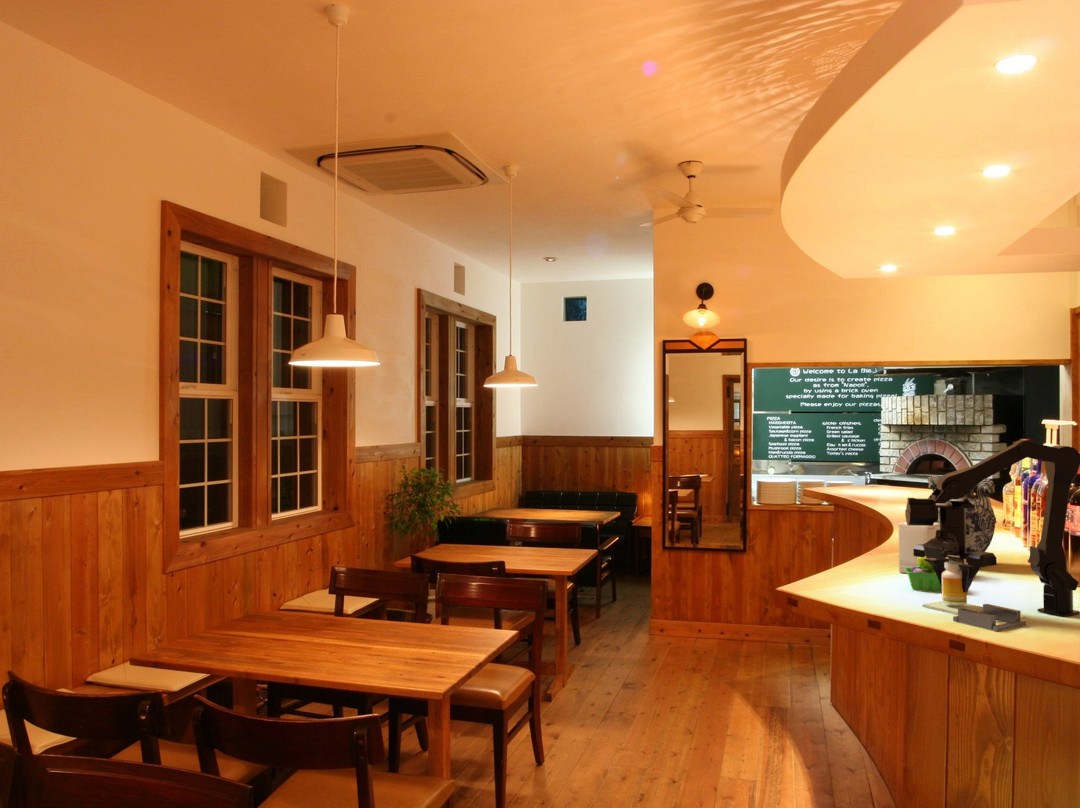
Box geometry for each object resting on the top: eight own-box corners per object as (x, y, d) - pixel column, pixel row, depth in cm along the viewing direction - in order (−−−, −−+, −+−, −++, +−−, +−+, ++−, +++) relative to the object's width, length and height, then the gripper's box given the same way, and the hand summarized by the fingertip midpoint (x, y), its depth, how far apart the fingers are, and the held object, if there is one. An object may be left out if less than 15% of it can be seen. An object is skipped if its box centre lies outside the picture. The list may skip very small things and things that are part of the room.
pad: (949, 602, 206) (948, 599, 206) (986, 610, 197) (986, 607, 197) (922, 606, 201) (922, 604, 201) (959, 615, 192) (959, 612, 192)
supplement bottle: (970, 605, 196) (969, 565, 196) (945, 605, 197) (944, 564, 197) (963, 600, 201) (962, 561, 201) (939, 600, 202) (938, 560, 202)
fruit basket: (908, 590, 220) (907, 548, 220) (905, 584, 228) (904, 543, 228) (955, 593, 216) (954, 550, 216) (950, 586, 224) (950, 545, 224)
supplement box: (928, 577, 238) (927, 525, 238) (898, 573, 244) (897, 522, 244) (942, 573, 244) (941, 522, 244) (911, 569, 250) (911, 520, 250)
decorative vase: (1012, 566, 252) (1009, 475, 253) (981, 574, 242) (978, 479, 242) (945, 557, 270) (942, 472, 270) (913, 564, 259) (910, 476, 260)
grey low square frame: (982, 615, 192) (981, 602, 192) (1026, 625, 182) (1026, 611, 182) (953, 621, 187) (952, 607, 187) (997, 631, 178) (996, 617, 178)
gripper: (897, 524, 204) (899, 587, 204) (966, 533, 187) (968, 601, 187) (927, 521, 209) (928, 582, 209) (997, 529, 192) (998, 596, 192)
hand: (954, 590), depth 199 cm, fingers closed on supplement bottle, 5 cm apart
